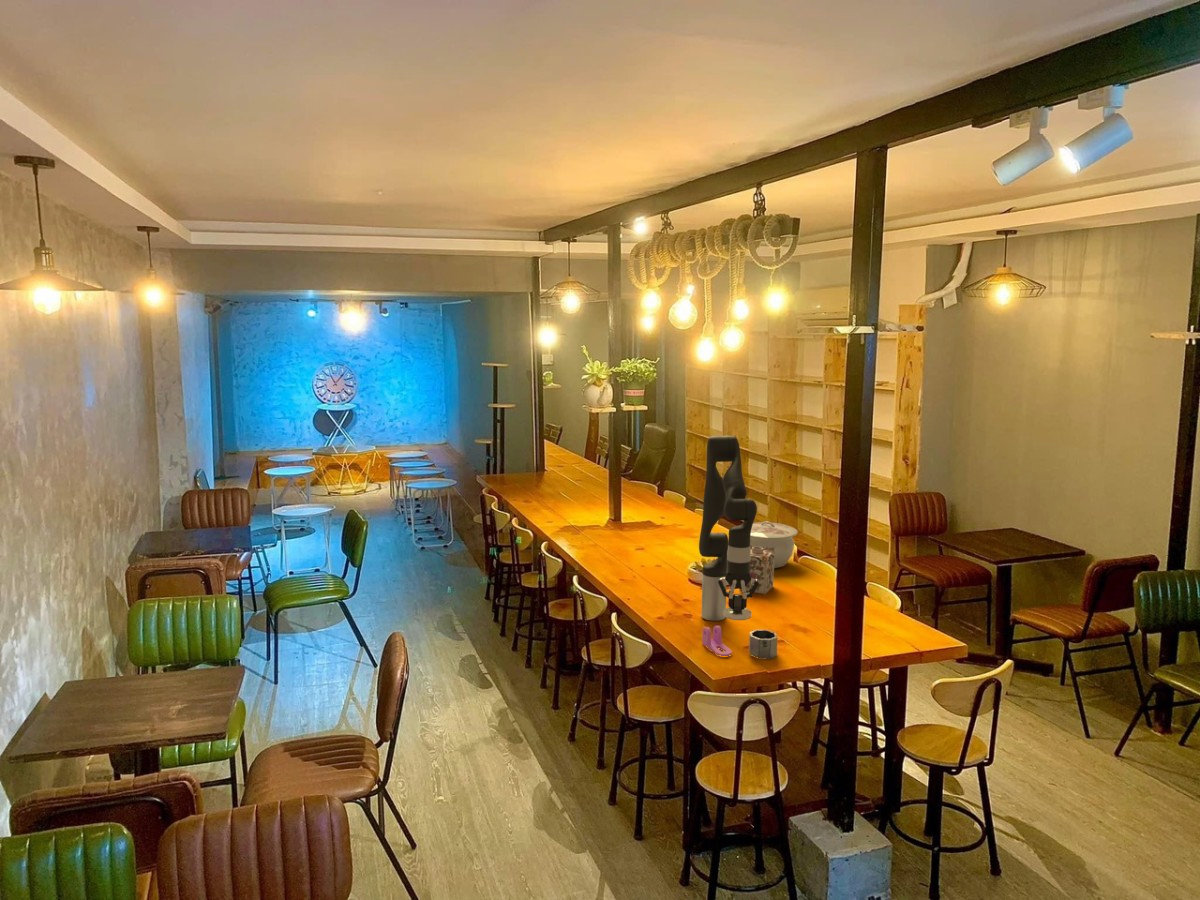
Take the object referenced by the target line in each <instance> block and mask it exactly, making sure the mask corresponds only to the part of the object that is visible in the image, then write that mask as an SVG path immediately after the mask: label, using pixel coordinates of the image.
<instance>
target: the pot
mask: <svg viewBox="0 0 1200 900" xmlns="http://www.w3.org/2000/svg"><path fill="white" fill-rule="evenodd" d="M748 639H749V640H748V641H749V642H748V646H749V647H748V652H750V653H749V655H750V654H751V655H753V656H755V657H758V658H766V659H765V660H768V659H769V660H772V659H775V658H777V657H776V656H778V655H777V654H778V634H777V632H775V631H772V630H769V629H754V630H752V631H750V632H749V638H748ZM774 657H775V658H774ZM771 658H772V659H771Z"/></svg>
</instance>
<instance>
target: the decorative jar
mask: <svg viewBox="0 0 1200 900" xmlns="http://www.w3.org/2000/svg"><path fill="white" fill-rule="evenodd" d="M750 552H751V555H750V556H751V559H750V576H751V578H753V579H757V580H758V582H759V584H758V586H757V588H756V590H755V592H754V594H760V595H766V594H767V593H768V592H769V591H770V590H771V589H772V588H773V587H774V579H775V578H774V577H775V576H774V575H775V568H774V556H773V554H772V553H770V552H769V551H767V550H763V548H762V547H752V549H750ZM751 586H752V585H751V581H750V582H749V583H748V585H747V586H746V587H745V588H746V593H748V592H749V590H750V588H751ZM739 591H742V589H739Z"/></svg>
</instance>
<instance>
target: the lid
mask: <svg viewBox="0 0 1200 900" xmlns="http://www.w3.org/2000/svg"><path fill="white" fill-rule="evenodd" d="M742 600H743V594H742V593H733V609H731V608H730V607H729V606H728V607H726V608H725V609H724V610H723V616H724V617H725V619H729V620H733V621H745V620H746V621H747V620H749V619H750V618H752V611H751V610H750V609H748V608H747V607H746V608H744V610H742Z"/></svg>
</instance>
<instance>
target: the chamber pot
mask: <svg viewBox="0 0 1200 900" xmlns="http://www.w3.org/2000/svg"><path fill="white" fill-rule="evenodd" d="M798 533H799V531H798V529H796V528H795V527H793V526H791V525H787V524H784V523H783V524H782V523H778V522H770V521H767V520H765V521H759V522H757V521H756V522H755V521H754V522H753V525H752V529H751V534H750V549H752V547H762V548H763V550H767V551H769V552H770V553H772V554H773V556H774V569H778V568H781V567H784V566H786V564H787V563H788V562H789V560H790V559H791V557H792V556H793V552H794V548H795V541H794V538H793V537H795V536H797V534H798Z"/></svg>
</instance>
